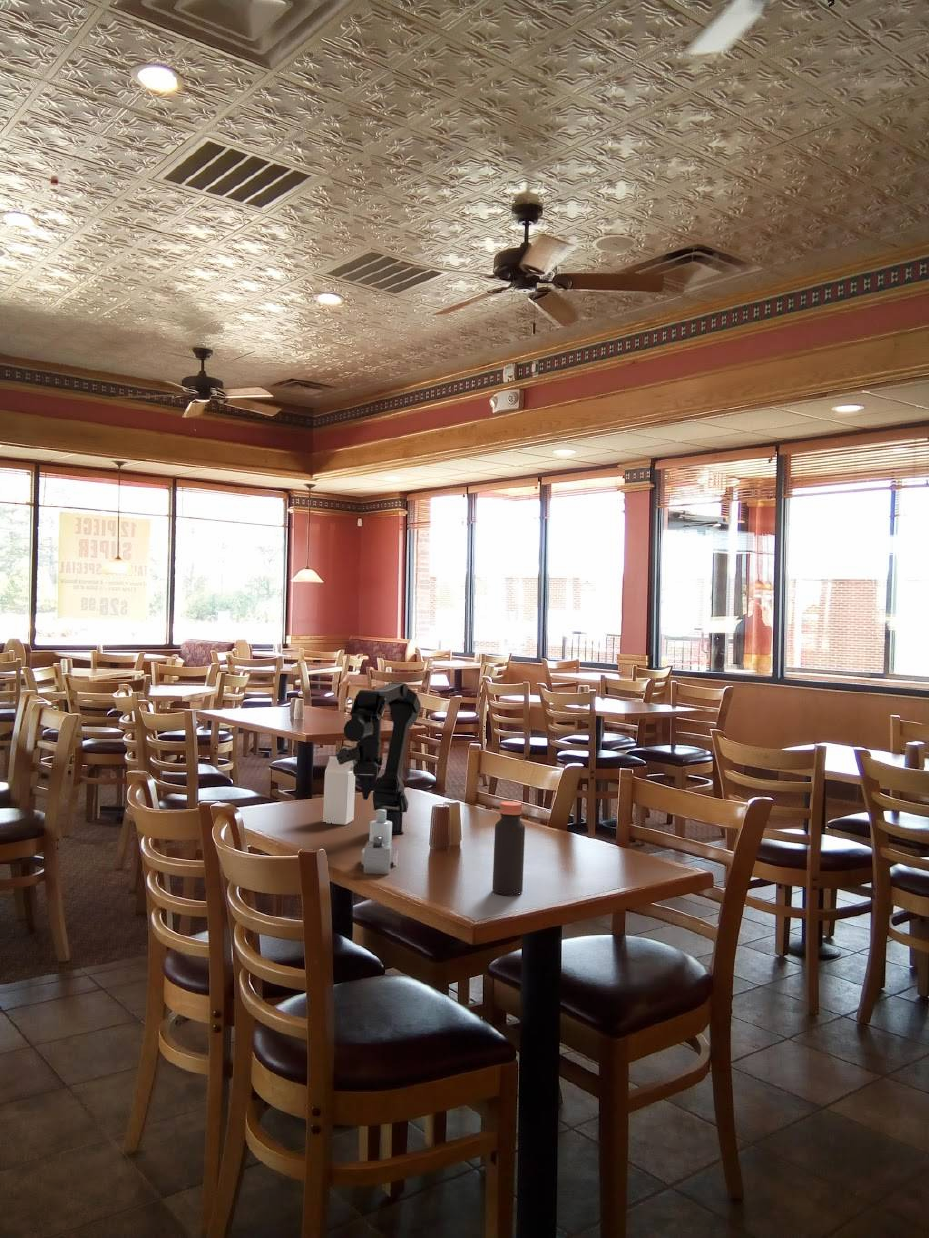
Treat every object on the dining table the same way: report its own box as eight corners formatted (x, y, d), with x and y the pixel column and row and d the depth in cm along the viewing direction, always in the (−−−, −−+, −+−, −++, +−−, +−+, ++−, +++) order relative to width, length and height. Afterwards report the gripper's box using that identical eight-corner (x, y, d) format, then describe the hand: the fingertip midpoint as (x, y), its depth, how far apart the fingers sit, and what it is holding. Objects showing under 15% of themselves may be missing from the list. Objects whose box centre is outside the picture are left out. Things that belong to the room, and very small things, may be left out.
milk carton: (345, 825, 276) (348, 759, 276) (322, 823, 277) (325, 757, 277) (353, 820, 283) (356, 756, 283) (330, 818, 284) (333, 754, 284)
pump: (382, 858, 240) (384, 807, 240) (394, 863, 235) (396, 811, 235) (364, 861, 236) (366, 809, 236) (376, 866, 232) (378, 813, 232)
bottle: (518, 887, 219) (522, 800, 219) (525, 896, 212) (529, 806, 212) (489, 887, 218) (493, 800, 218) (495, 896, 211) (499, 806, 211)
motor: (362, 860, 237) (364, 828, 237) (397, 861, 237) (398, 829, 237) (357, 872, 225) (359, 839, 225) (394, 874, 225) (395, 840, 225)
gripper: (343, 732, 262) (340, 788, 262) (334, 740, 243) (332, 801, 243) (383, 733, 262) (381, 790, 262) (378, 742, 243) (375, 803, 243)
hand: (366, 796), depth 253 cm, fingers open, 9 cm apart
